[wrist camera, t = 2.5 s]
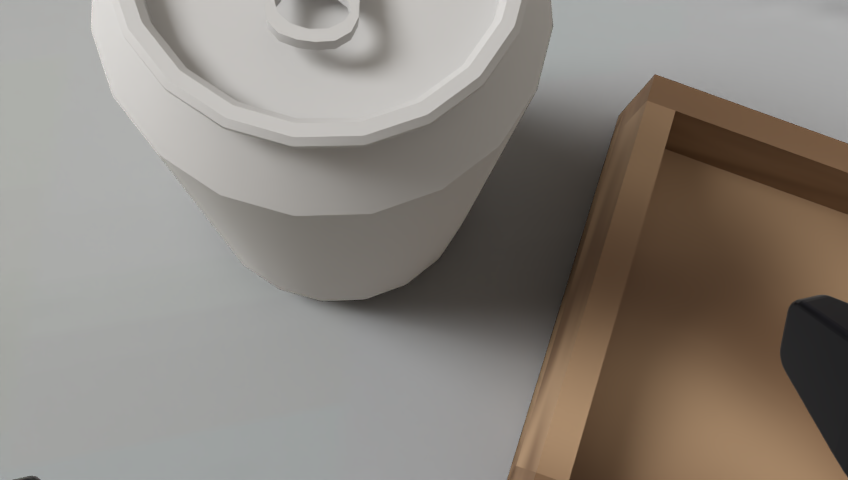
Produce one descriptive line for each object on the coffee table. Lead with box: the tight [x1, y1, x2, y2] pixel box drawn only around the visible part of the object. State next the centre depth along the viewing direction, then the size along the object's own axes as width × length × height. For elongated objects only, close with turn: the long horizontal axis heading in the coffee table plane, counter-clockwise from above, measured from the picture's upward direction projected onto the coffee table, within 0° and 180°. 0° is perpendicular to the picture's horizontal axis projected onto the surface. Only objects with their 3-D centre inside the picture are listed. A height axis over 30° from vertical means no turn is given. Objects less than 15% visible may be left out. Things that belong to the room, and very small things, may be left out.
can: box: [91, 0, 553, 301], centre depth 17 cm, size 8×8×12 cm
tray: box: [507, 75, 848, 480], centre depth 21 cm, size 12×12×3 cm
